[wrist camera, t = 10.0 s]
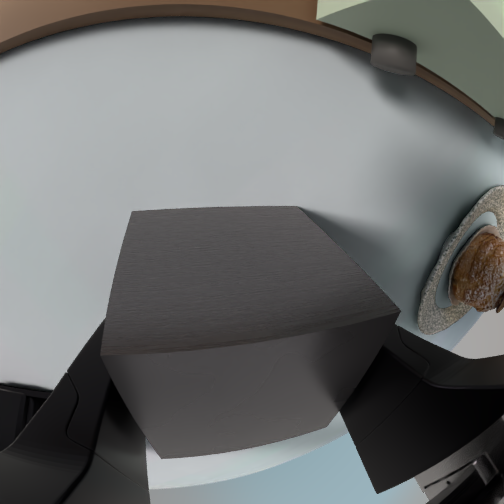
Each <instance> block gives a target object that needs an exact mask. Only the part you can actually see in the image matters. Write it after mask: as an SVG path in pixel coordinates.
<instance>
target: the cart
mask: <svg viewBox="0 0 504 504" xmlns="http://www.w3.org/2000/svg"><path fill="white" fill-rule="evenodd" d="M316 20H319V21H322V22H326V23H329V24H332V25H335V26H338V27H340V28H343V29H346V30H349V31H351V32H354V33H357V34H359V35H361V36H364V37H366V38H369V39H371V40H372V49H371V61H370V63H371V65H373V66H374V67H377V68H379V69H382V70H385V71H388V72H392V73H396V74H401V75H408V76H413V75H415V73H416V62H417V63H419V64H421V65H423V66H424V67H426V68H428V69H429V70H431V71H433V72H434V73H436V74H437V75H439V76H440V77H442V78H444V79H445V80H447V81H448V82H450V83H451V84H452V85H454V86H455V87H457V88H458V89H460V90H461V91H462V92H464V93H465V94H466V95H468V96H469V97H470V98H472V99H473V100H474V101H476V102H477V103H478V104H479V105H481V106H482V107H483V108H484V109H485V110H487V111H488V112H489V113H490V114H491V115H492V116H494V117H495V124H494V131H493V134H494V135H496V136H498V137H500V138H502V139H504V0H318V4H317V17H316Z"/></svg>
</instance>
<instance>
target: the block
mask: <svg viewBox="0 0 504 504" xmlns="http://www.w3.org/2000/svg"><path fill="white" fill-rule="evenodd" d="M400 312H401V310H400V309H399V308H398V307H397V306H396V305H395V304H394V303H393V302H392V300H391V299H390V298H389V297H388V296H387V295H386V294H385V293H384V292H383V291H382V290H381V289H380V288H379V287H378V285H377V284H376V283H375V282H374V281H373V280H372V279H371V278H370V277H369V276H368V275H367V274H366V273H365V272H364V271H363V270H362V269H361V268H360V267H359V266H358V265H357V264H356V263H355V262H354V261H353V260H352V259H351V258H350V257H349V256H348V255H347V254H346V253H345V252H344V251H343V250H342V249H341V248H340V247H339V246H338V245H337V244H336V243H335V242H334V241H333V240H332V239H331V238H330V237H329V236H328V235H327V234H326V233H325V232H324V231H323V230H322V229H321V228H320V227H319V226H318V225H317V224H315V223H314V222H313V221H312V220H311V219H310V218H309V217H308V216H307V215H306V214H305V213H304V212H303V211H302V210H300V209H299V208H298V207H297V206H255V207H210V208H184V209H164V210H147V211H132V213H131V216H130V220H129V223H128V226H127V230H126V233H125V236H124V240H123V244H122V247H121V251H120V255H119V259H118V263H117V267H116V271H115V275H114V280H113V284H112V289H111V293H110V298H109V303H108V308H107V314H106V319H105V325H104V331H103V338H102V345H101V352H100V356H101V358H102V360H103V362H104V364H105V367H106V369H107V371H108V373H109V375H110V377H111V379H112V381H113V382H114V384H115V386H116V388H117V390H118V392H119V394H120V395H121V397H122V399H123V401H124V403H125V404H126V406H127V408H128V409H129V411H130V413H131V414H132V416H133V418H134V419H135V421H136V423H137V424H138V426H139V427H140V429H141V430H142V432H143V433H144V435H145V436H146V438H147V439H148V441H149V442H150V444H151V445H152V447H153V448H154V449H155V451H156V452H157V454H158V455H159V456H160V458H161V459H168V458H183V457H194V456H203V455H211V454H218V453H225V452H231V451H237V450H242V449H248V448H252V447H257V446H262V445H266V444H270V443H274V442H278V441H282V440H286V439H290V438H293V437H297V436H300V435H303V434H307V433H310V432H313V431H316V430H319V429H322V428H325V427H327V426H328V425H329V423H330V422H331V421H332V419H333V418H334V417H335V416H336V414H337V413H338V412H339V410H340V409H341V408H342V406H343V405H344V404H345V402H346V401H347V399H348V398H349V397H350V395H351V394H352V392H353V391H354V389H355V388H356V386H357V385H358V384H359V382H360V381H361V379H362V377H363V376H364V374H365V373H366V371H367V370H368V368H369V367H370V365H371V363H372V362H373V360H374V359H375V357H376V355H377V354H378V352H379V350H380V349H381V347H382V345H383V343H384V342H385V340H386V338H387V336H388V335H389V333H390V331H391V329H392V327H393V325H394V324H395V322H396V320H397V318H398V316H399V314H400Z"/></svg>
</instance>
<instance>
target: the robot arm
mask: <svg viewBox="0 0 504 504" xmlns="http://www.w3.org/2000/svg"><path fill="white" fill-rule="evenodd" d="M105 319H106V318H105ZM105 319H104V320H103V322H102V323H101V324H100V326H99V327H98V328H97V330H96V331H95V332H94V334H93V335H92V336H91V338H90V339H89V340H88V342H87V343H86V344H85V346H84V347H83V349H82V350H81V351H80V353H79V354H78V356H77V357H76V358H75V360H74V361H73V363H72V364H71V366H70V367H69V368H68V370H67V372H68V373H65V374H64V376H63V377H62V379H61V380H60V382H59V383H58V384H57V386H56V387H55V389H54V390H53V392H52V393H49V392H40V391H32V390H25V389H19V388H13V387H7V386H2V385H0V504H150V496H149V491H148V490H149V487H148V476H147V463H146V444H145V435H144V433H143V432H142V430H141V429H140V427H139V426H138V424H137V423H136V421H135V419H134V418H133V416H132V414H131V413H130V411H129V409H128V408H127V406H126V404H125V403H124V401H123V399H122V397H121V395H120V394H119V392H118V390H117V388H116V386H115V384H114V382H113V381H112V379H111V377H110V375H109V373H108V371H107V369H106V367H105V364H104V362H103V360H102V358H101V356H100V352H101V345H102V338H103V331H104V325H105ZM339 411H340V413H341V416H342V418H343V420H344V422H345V424H346V427H347V429H348V431H349V433H350V435H351V438H352V440H353V441H354V444H355V446H356V449H357V451H358V454H359V456H360V458H361V460H362V462H363V465H364V467H365V469H366V471H367V474H368V476H369V478H370V480H371V482H372V485H373V487H374V489H375V491H376V493H377V494H379V493H381V492H383V491H386V490H388V489H390V488H393V487H395V486H397V485H399V484H401V483H403V482H405V481H407V480H409V479H411V478H413V477H415V479H416V481H417V482H418V484H419V486H420V488H421V490H422V492H423V493H424V492H425V494H426V495H427V497H428V499H429V502H427V503H426V504H504V355H499V356H493V357H487V358H481V359H468V358H464V357H461V356H459V355H456V354H454V353H452V352H450V351H448V350H446V349H443V348H441V347H439V346H437V345H435V344H433V343H430V342H428V341H426V340H424V339H422V338H420V337H418V336H416V335H414V334H412V333H411V332H409V331H407V330H405V329H403V328H402V327H400V326H397V325H396V324H394V325H393V327H392V329H391V331H390V333H389V335H388V336H387V338H386V340H385V342H384V343H383V345H382V347H381V349H380V350H379V352H378V354H377V355H376V357H375V359H374V360H373V362H372V363H371V365H370V367H369V368H368V370H367V371H366V373H365V374H364V376H363V377H362V379H361V381H360V382H359V384H358V385H357V386H356V388H355V389H354V391H353V392H352V394H351V395H350V397H349V398H348V399H347V401H346V402H345V404H344V405H343V406H342V408H341V409H340V410H339Z"/></svg>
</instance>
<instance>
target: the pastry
mask: <svg viewBox="0 0 504 504" xmlns="http://www.w3.org/2000/svg"><path fill="white" fill-rule="evenodd" d="M488 211H490V212H493V213H494V214H495V216H496V219H497V227H495V226H492V225H487V226H485V227H483V228H480V229H479V230H478V231H477V232H475V233H474V234H473V235H472V236H471V237H470V238H469V239H468V241H467V242H466V244H465V245H464V247H463V248H462V249H461V250H460V252H459V253H458V255H457V256H456V258H455V260H454V261H453V263H452V267H451V269H450V273H449V286H448V292H449V295H448V297H449V299H450V302H451V304H452V306H450V307H447V308H438V307H437V306H436V303H435V293H436V289H437V286H438V283H439V280H440V277H441V275H442V273H443V270H444V268H445V266H446V264H447V262H448V260H449V258H450V256H451V255H452V253H453V251H454V249H455V248H456V246H457V244H458V243H459V241H460V240H461V238H462V237H463V235H464V234H465V232H466V231H467V229H468V228H469V227H470V226H471V224H472V223H473V222H474V221H475V220H476V219H477V218H478V217H479V216H480V215H481V214H483V213H485V212H488ZM496 228H497V229H496ZM421 295H422V296H421V304H420V307H419V312H418V320H417V321H418V326H419V329H420V330H421V332H422V333H424V334H427V335H431V334H435V333H437V332H440V331H442V330H445V329H447V328H448V327H449V326H451V325H452V324H453V323H455V322H457V321H458V320H459V319H460V318H461V317H463V316H464V315H465V314H466V313H467V312H468V311H469V310H470V309H471V308H472V307H474V308H476V310H477V311H478V312H483V311H484V312H487V311H488V310H492V309H495V308H497V309H496V312H497V313H498V312H500V311H501V310H502V309H503V307H504V185H501V186H497V187H494V188H492V189H490V190H489V191H488V192H487V193H486V194H485V195H483V196H482V197H481V198H480V200H479V201H478V202H477V203H476V205H474V207H473V208H472V209H471V211H470V212H469V213H468V214H467V216H466V217H465V218H464V219H463V220H462V222H461V224H460V225H459V227H458V229H457V230H456V231H455V232H452V233H451V234H450V235H449V237H448V238H447V240H446V241H445V243H444V245H443V247H442V249H441V253H440V257H439V258H438V262H437V264H436V265H435V267H434V268H433V270H432V272H431V273H430V275H429V277H428V279H427V281H426V284H425V286H424V288H423V290H422V291H421Z"/></svg>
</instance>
